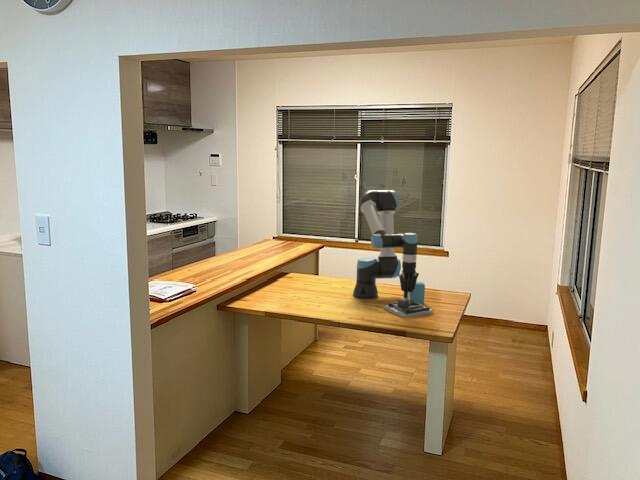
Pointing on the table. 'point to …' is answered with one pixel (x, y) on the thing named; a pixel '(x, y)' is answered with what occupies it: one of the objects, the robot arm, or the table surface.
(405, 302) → the breaker toggle
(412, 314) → the breaker panel
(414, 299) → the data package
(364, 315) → the table surface
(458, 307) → the table surface
